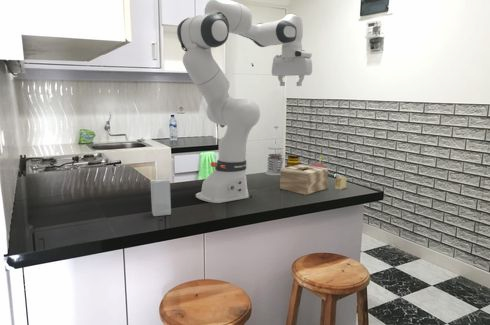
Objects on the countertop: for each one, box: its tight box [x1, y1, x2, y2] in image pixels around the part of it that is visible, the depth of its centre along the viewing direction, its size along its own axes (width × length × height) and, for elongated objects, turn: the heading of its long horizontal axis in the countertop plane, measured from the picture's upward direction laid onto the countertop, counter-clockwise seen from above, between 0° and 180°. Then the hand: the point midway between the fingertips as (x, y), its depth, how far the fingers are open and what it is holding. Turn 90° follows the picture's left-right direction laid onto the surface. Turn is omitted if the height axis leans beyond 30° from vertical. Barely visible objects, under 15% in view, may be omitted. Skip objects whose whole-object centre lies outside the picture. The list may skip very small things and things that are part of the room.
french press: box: [265, 125, 284, 176], centre depth 191 cm, size 10×12×25 cm
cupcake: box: [310, 153, 327, 168], centre depth 187 cm, size 9×8×12 cm
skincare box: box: [149, 178, 172, 217], centre depth 125 cm, size 6×4×12 cm
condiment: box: [286, 154, 300, 167], centre depth 182 cm, size 7×8×12 cm
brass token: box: [334, 176, 348, 191], centre depth 166 cm, size 5×2×5 cm, turn 135°
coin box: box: [279, 163, 329, 196], centre depth 164 cm, size 16×14×9 cm
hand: (290, 86), depth 166 cm, fingers open, 8 cm apart
